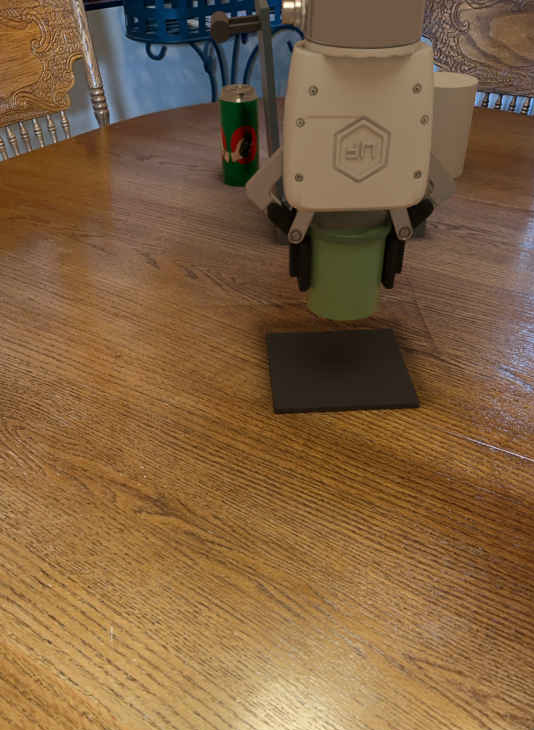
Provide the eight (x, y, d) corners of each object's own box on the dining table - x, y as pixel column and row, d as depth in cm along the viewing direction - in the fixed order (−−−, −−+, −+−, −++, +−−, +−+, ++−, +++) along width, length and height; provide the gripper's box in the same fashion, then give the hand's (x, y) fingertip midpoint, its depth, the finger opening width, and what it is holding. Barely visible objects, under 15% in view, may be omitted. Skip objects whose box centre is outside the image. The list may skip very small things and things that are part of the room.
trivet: (391, 332, 67) (392, 328, 66) (419, 407, 58) (420, 402, 57) (266, 337, 66) (266, 332, 66) (274, 413, 57) (274, 408, 57)
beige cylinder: (467, 169, 100) (484, 75, 92) (453, 188, 94) (470, 90, 86) (412, 162, 102) (423, 69, 94) (395, 180, 97) (406, 83, 89)
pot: (374, 282, 60) (383, 201, 55) (389, 321, 55) (400, 235, 51) (298, 285, 60) (300, 203, 55) (306, 324, 55) (309, 238, 50)
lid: (260, -17, 75) (207, -10, 75) (269, 6, 64) (206, 14, 64) (274, 152, 87) (228, 158, 87) (283, 196, 76) (230, 202, 76)
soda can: (266, 183, 96) (266, 86, 88) (245, 195, 93) (242, 95, 85) (237, 176, 98) (233, 81, 90) (215, 187, 95) (210, 89, 87)
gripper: (228, 34, 41) (238, 309, 53) (516, 29, 42) (461, 301, 54) (226, 11, 47) (235, 265, 59) (480, 7, 47) (438, 259, 60)
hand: (343, 280), depth 56 cm, fingers closed on pot, 6 cm apart
